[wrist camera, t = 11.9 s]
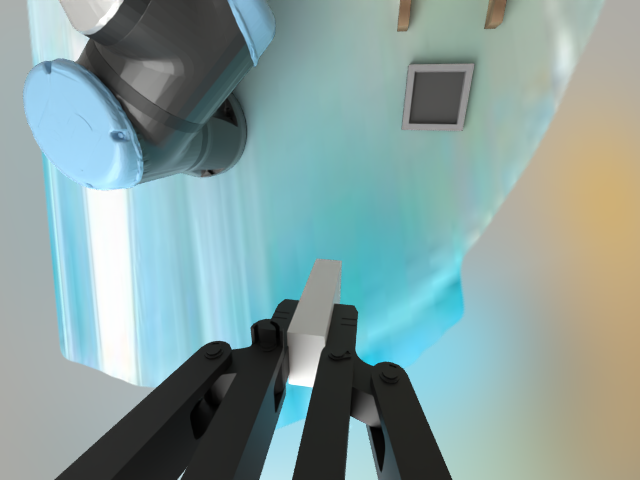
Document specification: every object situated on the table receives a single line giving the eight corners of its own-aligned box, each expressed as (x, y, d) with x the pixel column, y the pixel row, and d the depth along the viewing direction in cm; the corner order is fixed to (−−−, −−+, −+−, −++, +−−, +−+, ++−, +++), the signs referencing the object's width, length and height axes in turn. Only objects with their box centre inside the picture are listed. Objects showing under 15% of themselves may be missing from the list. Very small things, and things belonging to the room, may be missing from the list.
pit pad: (460, 130, 42) (462, 130, 41) (401, 129, 43) (402, 129, 42) (471, 65, 39) (474, 63, 38) (408, 66, 40) (409, 64, 39)
